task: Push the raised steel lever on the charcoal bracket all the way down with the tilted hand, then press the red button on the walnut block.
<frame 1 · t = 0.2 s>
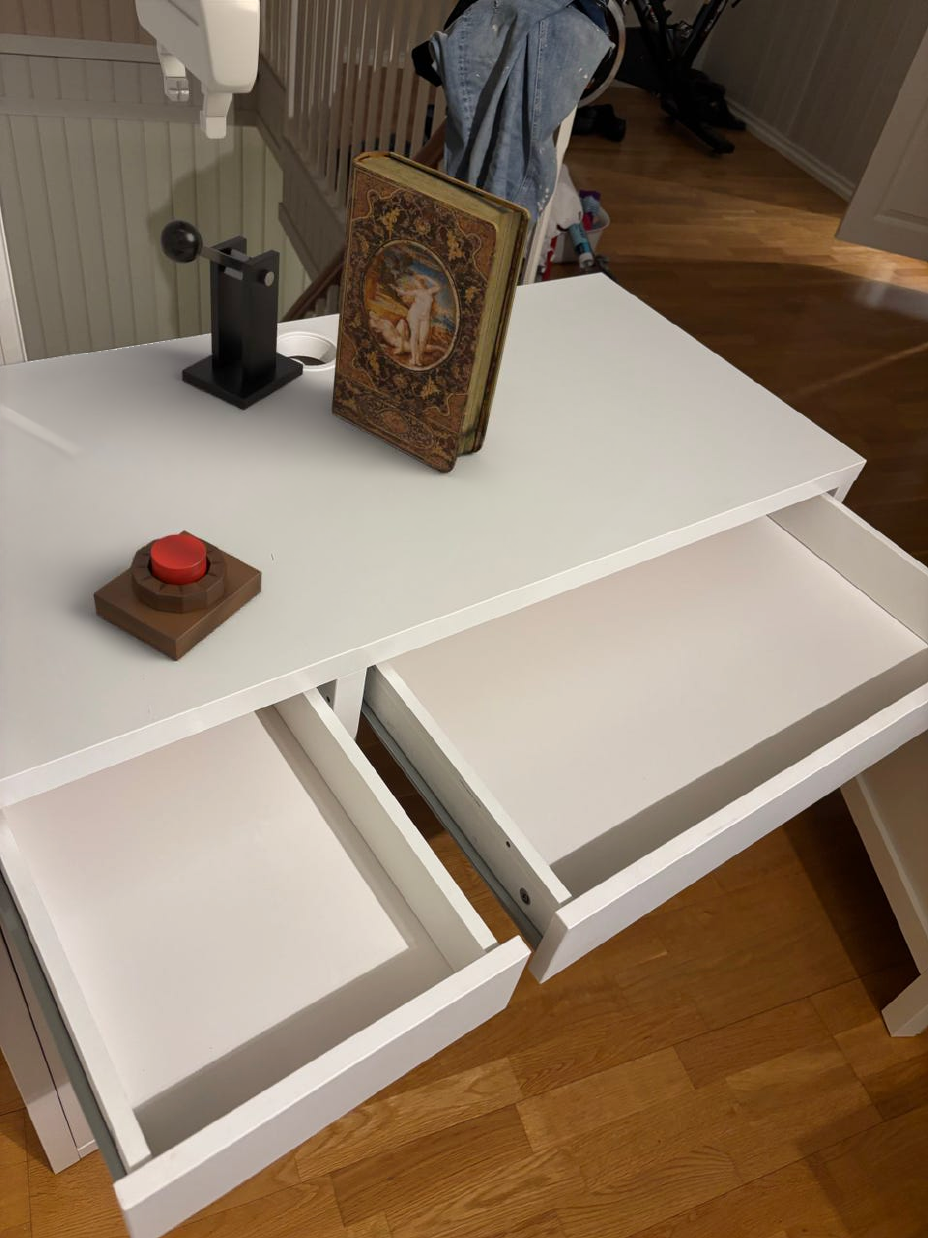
hand: (194, 116, 83), 25 cm above the table, tool pointing down, fingers open, 8 cm apart
book: (401, 433, 98), on the table
lever: (213, 254, 87), point 15 cm above the table, hinge at 30.0°
button block: (181, 602, 75), on the table
bracket: (244, 377, 100), on the table
button: (178, 559, 72), point 5 cm above the table, slide at 0.2 cm
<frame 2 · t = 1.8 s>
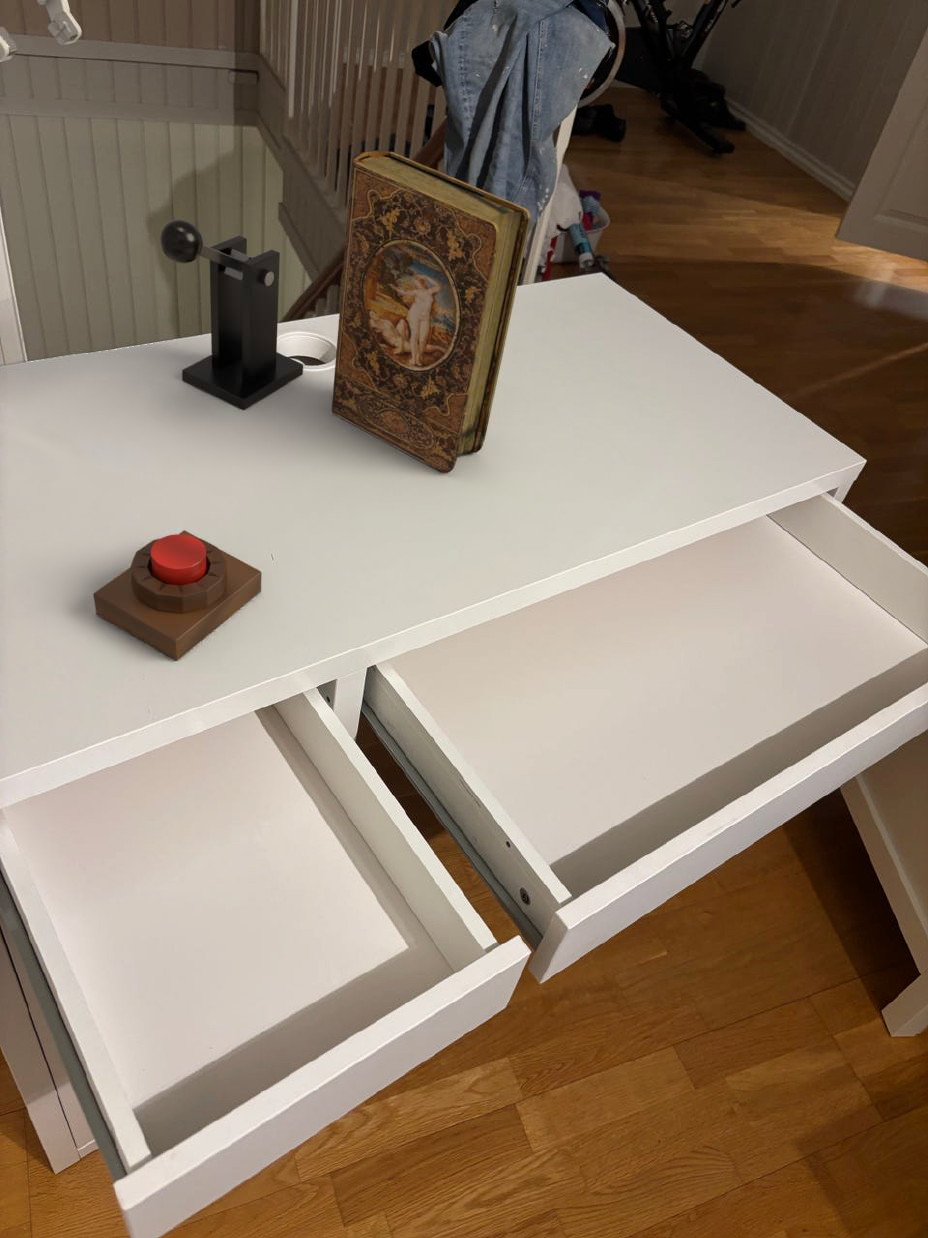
hand: (41, 48, 76), 29 cm above the table, tool tilted 45°, fingers open, 6 cm apart
nothing on the table moved.
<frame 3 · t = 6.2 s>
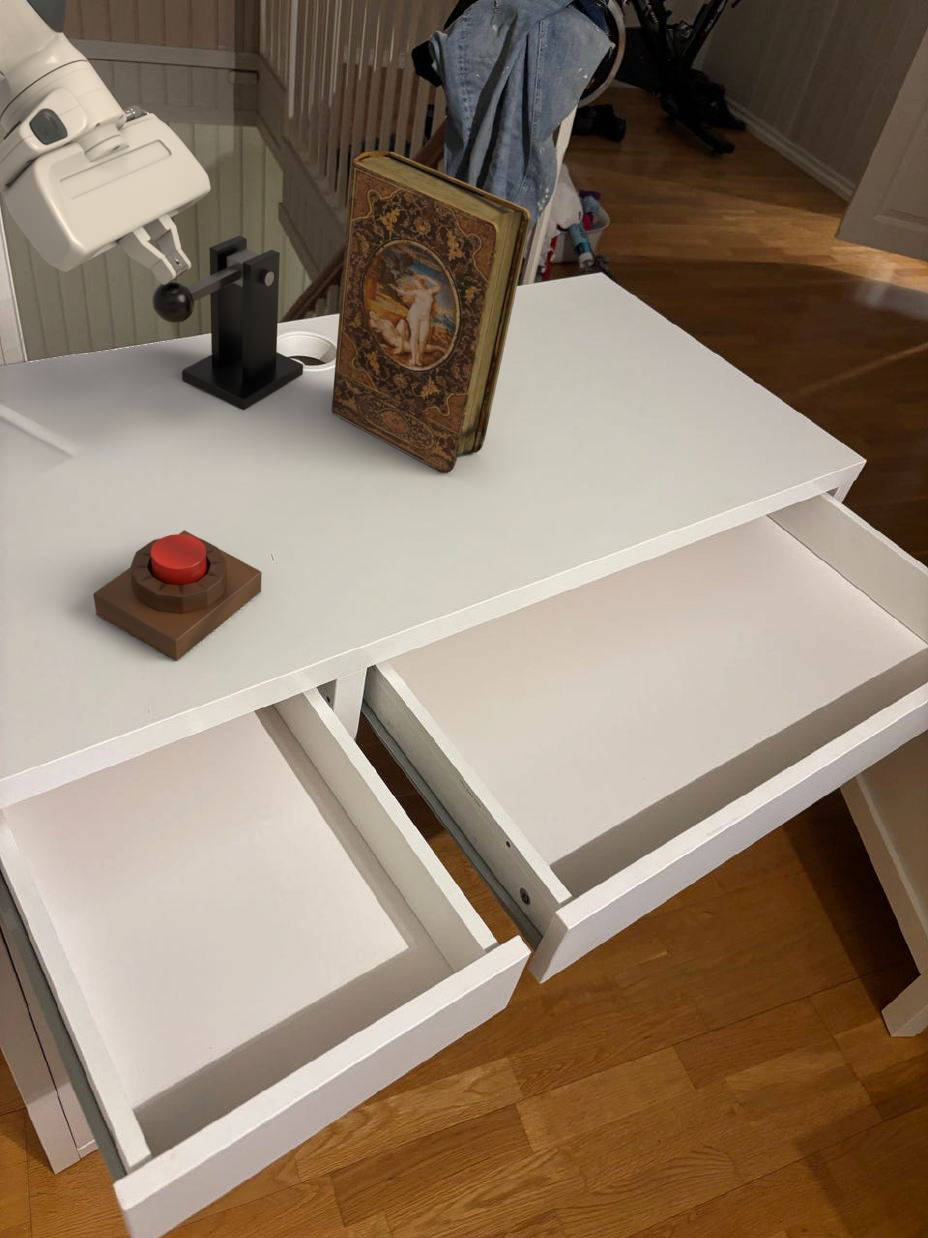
hand: (178, 276, 84), 14 cm above the table, tool tilted 45°, fingers closed
lever: (209, 285, 88), point 12 cm above the table, hinge at -1.2°, touching gripper
everything else where it was.
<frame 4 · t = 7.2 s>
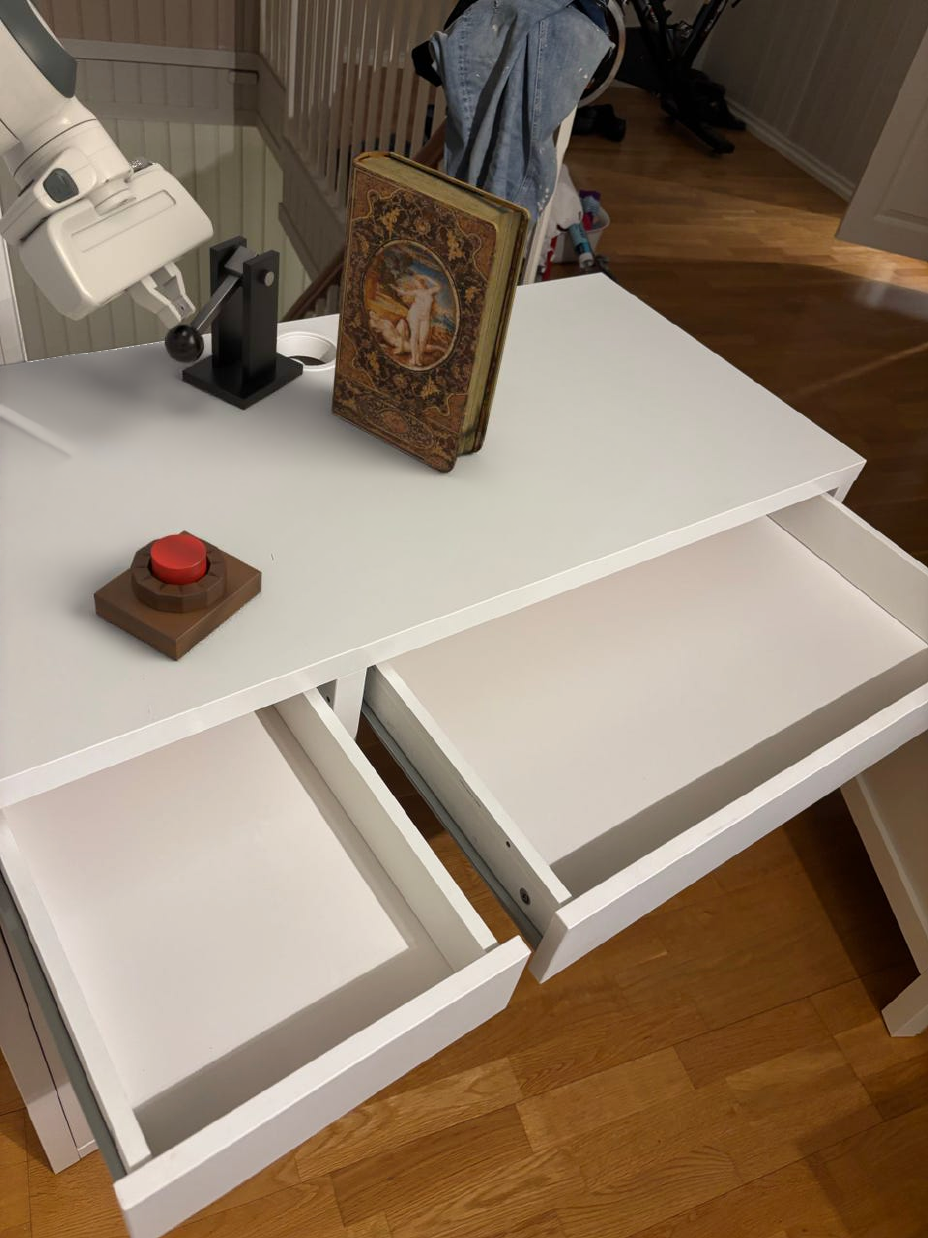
hand: (183, 320, 88), 10 cm above the table, tool tilted 45°, fingers closed, pressing on lever
lever: (213, 306, 90), point 10 cm above the table, hinge at -28.5°, touching gripper
everything else where it was.
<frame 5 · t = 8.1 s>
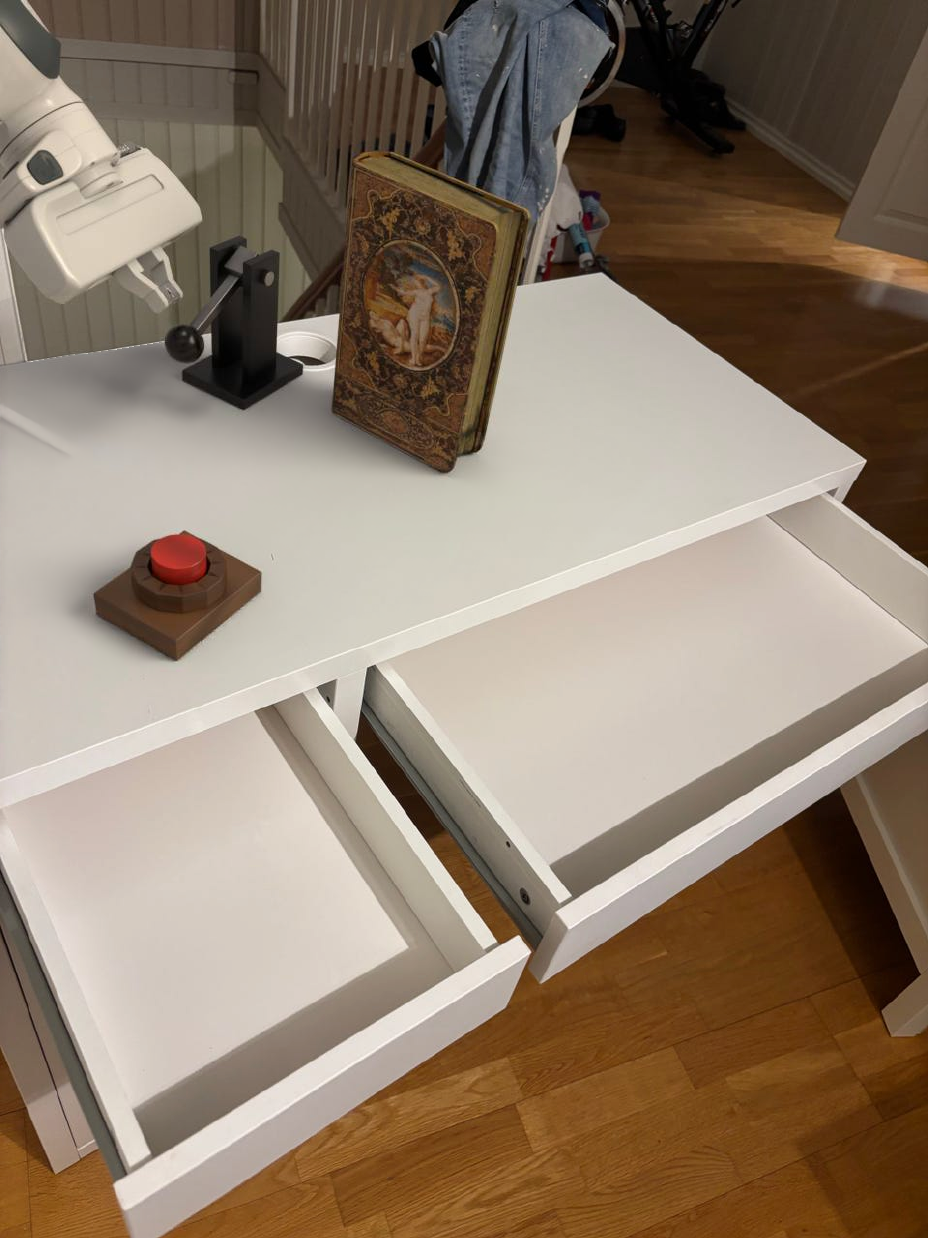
hand: (170, 305, 87), 11 cm above the table, tool tilted 45°, fingers closed
lever: (213, 306, 90), point 10 cm above the table, hinge at -28.5°
everything else where it was.
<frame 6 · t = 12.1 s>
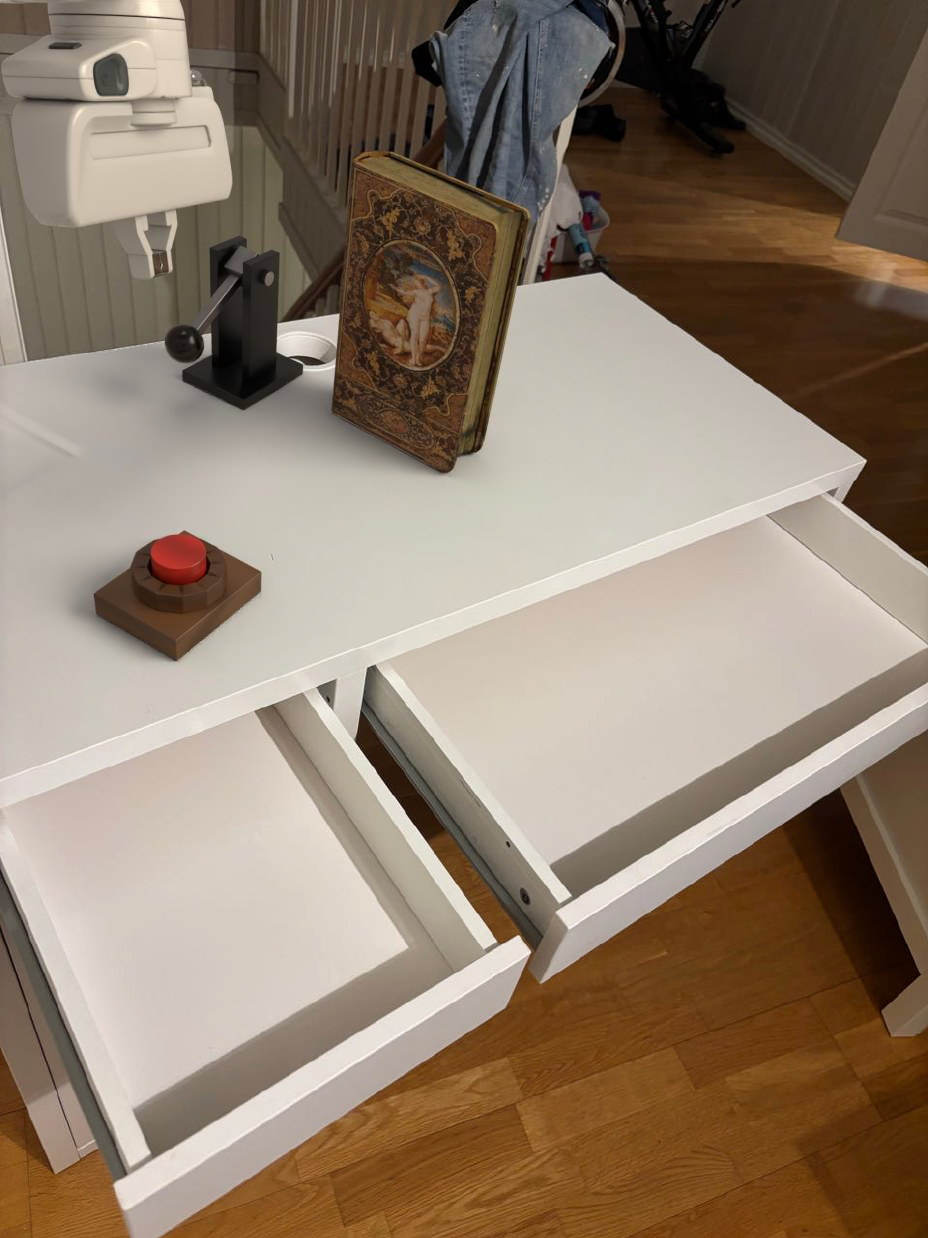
hand: (152, 276, 72), 19 cm above the table, tool tilted 15°, fingers closed
nothing on the table moved.
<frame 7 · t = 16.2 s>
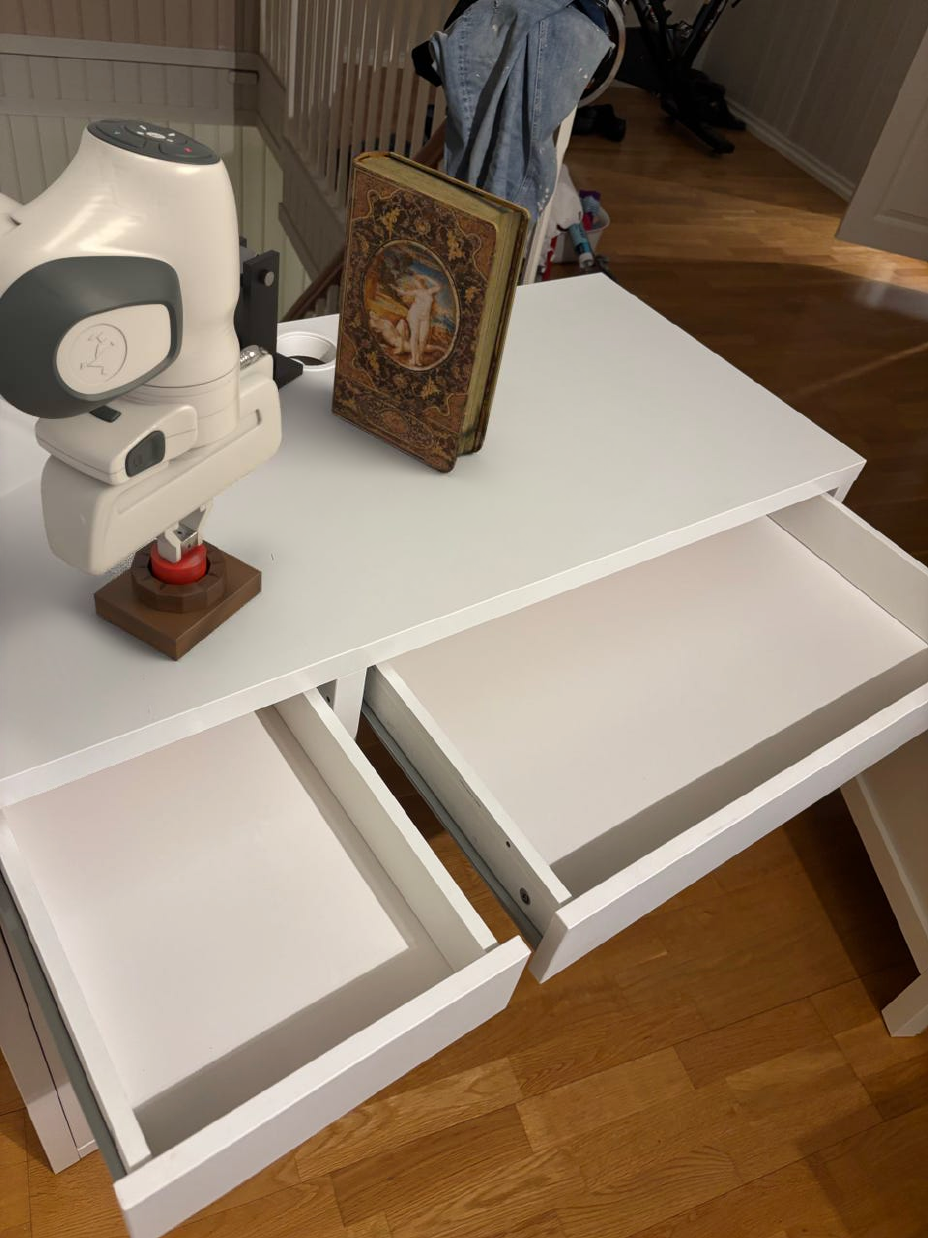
hand: (180, 550, 71), 5 cm above the table, tool pointing down, fingers closed, pressing on button
button: (178, 559, 72), point 4 cm above the table, slide at 0.1 cm, touching gripper
everything else where it was.
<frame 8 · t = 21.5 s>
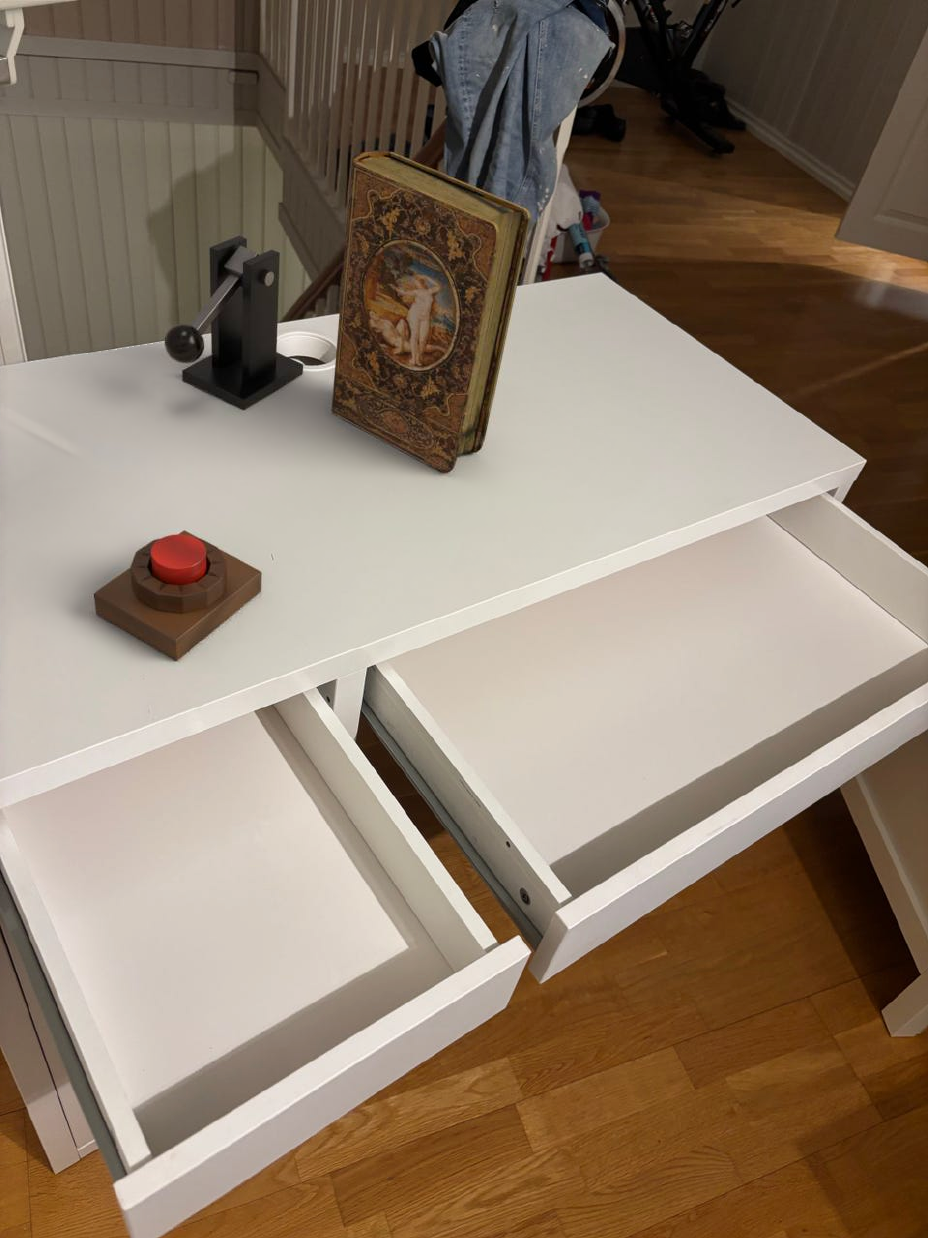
button: (178, 559, 72), point 5 cm above the table, slide at 0.1 cm
everything else where it was.
at the end: lever at -28° (first picture: +30°); button pushed in 1.0 cm at the most during the clip, back to where it started at the end; button slide at 0.1 cm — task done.
